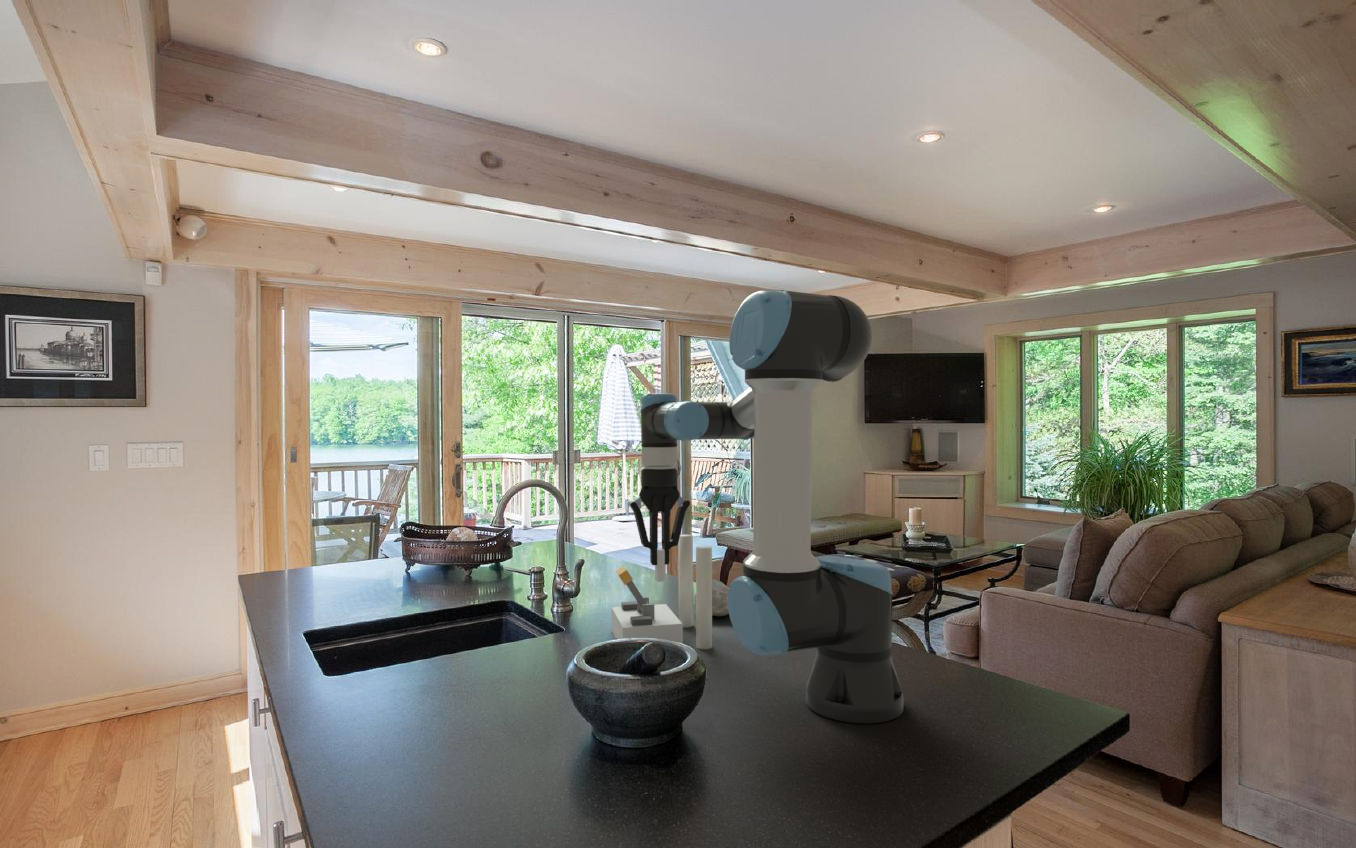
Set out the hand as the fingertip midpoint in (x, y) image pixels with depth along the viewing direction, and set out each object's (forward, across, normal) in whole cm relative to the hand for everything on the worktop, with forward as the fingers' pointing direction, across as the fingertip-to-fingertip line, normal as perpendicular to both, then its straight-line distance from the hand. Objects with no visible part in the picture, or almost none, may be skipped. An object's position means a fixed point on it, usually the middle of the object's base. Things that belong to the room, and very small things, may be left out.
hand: (659, 580), depth 151 cm
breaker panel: (+12, +3, 0) cm, 13 cm away
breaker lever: (+6, +3, 0) cm, 6 cm away
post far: (+12, -8, -8) cm, 16 cm away
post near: (+12, -7, +8) cm, 16 cm away
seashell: (+12, -17, -15) cm, 26 cm away
